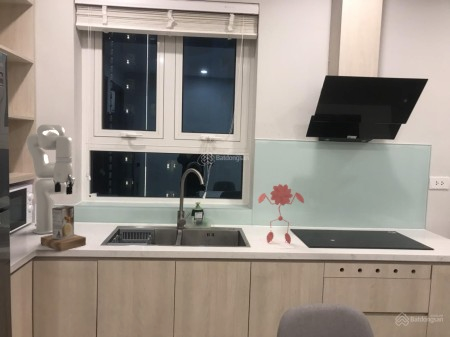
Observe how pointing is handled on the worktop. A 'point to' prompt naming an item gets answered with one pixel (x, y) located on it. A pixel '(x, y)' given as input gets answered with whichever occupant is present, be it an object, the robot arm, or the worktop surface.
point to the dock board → (63, 242)
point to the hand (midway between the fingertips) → (63, 193)
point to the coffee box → (62, 222)
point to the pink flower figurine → (282, 197)
